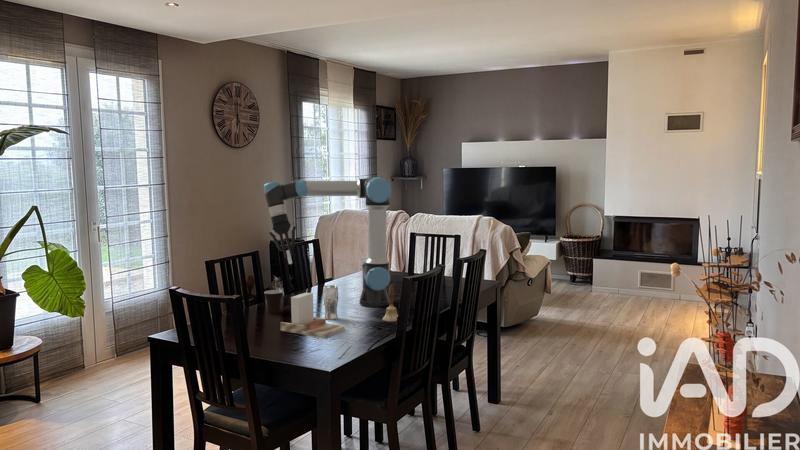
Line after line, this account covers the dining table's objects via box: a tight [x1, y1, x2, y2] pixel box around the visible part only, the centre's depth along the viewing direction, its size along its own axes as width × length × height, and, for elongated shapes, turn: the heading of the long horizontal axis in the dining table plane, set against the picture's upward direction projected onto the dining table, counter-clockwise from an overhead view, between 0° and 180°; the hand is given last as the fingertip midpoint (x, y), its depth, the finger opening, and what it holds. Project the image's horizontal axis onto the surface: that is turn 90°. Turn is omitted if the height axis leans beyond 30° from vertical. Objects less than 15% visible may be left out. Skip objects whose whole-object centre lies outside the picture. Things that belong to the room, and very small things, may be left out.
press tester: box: [279, 316, 346, 339], centre depth 258 cm, size 24×14×4 cm, turn 60°
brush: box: [381, 284, 399, 323], centre depth 273 cm, size 8×8×16 cm
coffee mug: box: [264, 289, 283, 315], centre depth 291 cm, size 12×9×10 cm
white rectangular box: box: [290, 292, 315, 325], centre depth 260 cm, size 5×10×13 cm, turn 150°
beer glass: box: [322, 284, 339, 321], centre depth 276 cm, size 7×7×15 cm
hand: (290, 263), depth 279 cm, fingers closed
